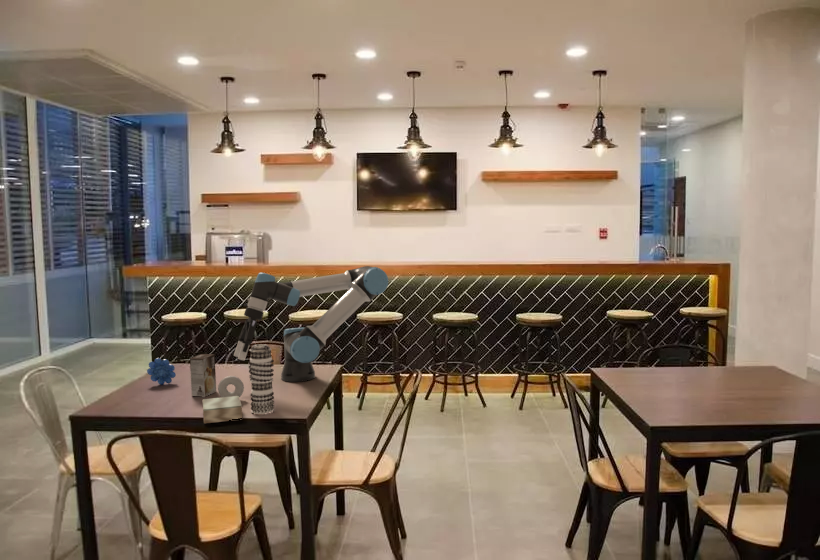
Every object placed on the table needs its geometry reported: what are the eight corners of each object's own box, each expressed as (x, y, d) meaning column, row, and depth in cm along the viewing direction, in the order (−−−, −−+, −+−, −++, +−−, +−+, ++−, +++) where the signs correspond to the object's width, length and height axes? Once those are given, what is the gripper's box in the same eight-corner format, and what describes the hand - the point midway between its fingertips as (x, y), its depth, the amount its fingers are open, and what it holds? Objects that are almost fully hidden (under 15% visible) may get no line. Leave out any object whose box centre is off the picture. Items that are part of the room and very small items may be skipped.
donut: (217, 402, 246) (216, 377, 245) (218, 400, 249) (217, 375, 248) (244, 400, 247) (243, 376, 247) (244, 398, 251) (243, 374, 250)
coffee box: (202, 391, 263) (201, 353, 262) (216, 391, 262) (215, 354, 260) (191, 397, 254) (189, 358, 253) (205, 397, 253) (203, 358, 252)
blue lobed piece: (148, 388, 269) (146, 361, 267) (147, 385, 275) (146, 358, 274) (176, 385, 273) (175, 358, 272) (175, 382, 279) (174, 355, 278)
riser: (239, 408, 237) (238, 395, 236) (242, 419, 223) (241, 405, 223) (203, 412, 232) (202, 399, 232) (203, 423, 219) (203, 409, 219)
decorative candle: (273, 414, 228) (271, 347, 226) (247, 415, 228) (245, 347, 226) (277, 407, 237) (275, 342, 235) (252, 408, 237) (250, 343, 235)
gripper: (242, 305, 271) (226, 353, 268) (251, 306, 248) (233, 358, 245) (259, 311, 273) (243, 357, 270) (269, 312, 250) (252, 363, 247)
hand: (238, 358), depth 258 cm, fingers open, 13 cm apart
